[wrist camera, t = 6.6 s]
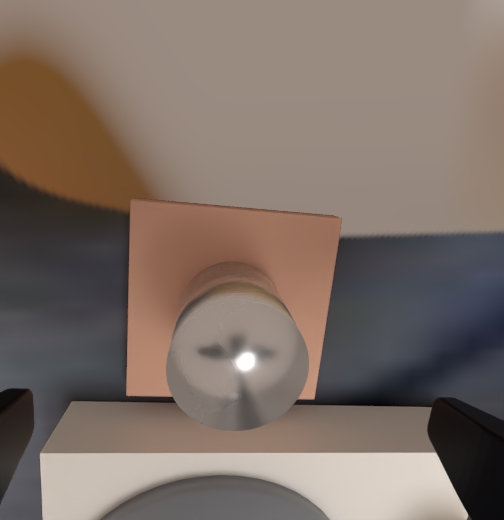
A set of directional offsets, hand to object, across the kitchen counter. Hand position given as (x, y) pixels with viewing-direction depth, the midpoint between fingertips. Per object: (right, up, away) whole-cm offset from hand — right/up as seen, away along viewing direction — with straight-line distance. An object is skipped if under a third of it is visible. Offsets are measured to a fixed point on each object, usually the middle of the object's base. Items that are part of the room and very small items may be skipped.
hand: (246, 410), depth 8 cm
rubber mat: (-1, +2, +7) cm, 8 cm away
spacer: (-1, +1, +6) cm, 7 cm away
